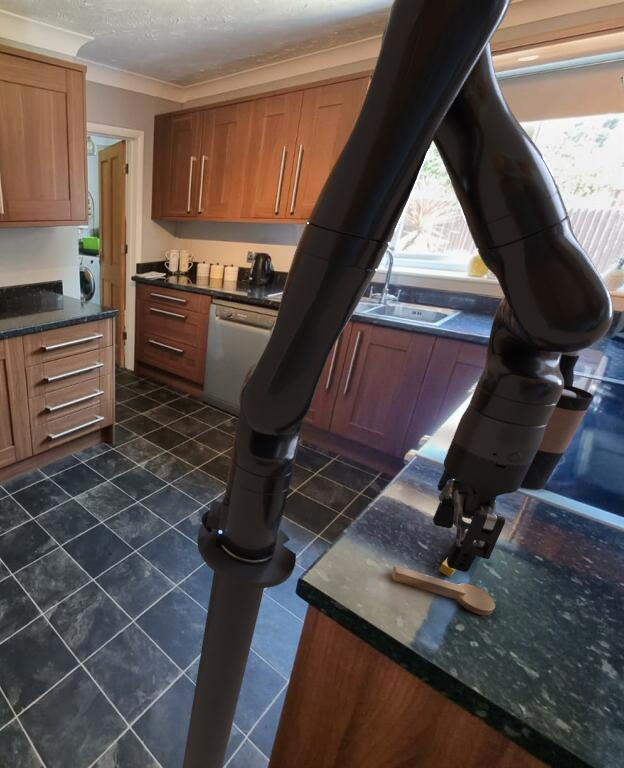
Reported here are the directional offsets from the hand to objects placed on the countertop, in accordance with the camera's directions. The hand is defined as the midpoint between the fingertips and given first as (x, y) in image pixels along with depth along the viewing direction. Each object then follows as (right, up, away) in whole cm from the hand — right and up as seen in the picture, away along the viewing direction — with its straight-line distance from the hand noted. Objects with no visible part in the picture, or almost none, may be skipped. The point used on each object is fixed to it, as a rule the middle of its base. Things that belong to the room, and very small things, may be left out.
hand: (448, 545), depth 58 cm
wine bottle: (+50, +8, +41) cm, 65 cm away
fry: (+7, -6, +8) cm, 12 cm away
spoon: (+1, -8, +3) cm, 8 cm away
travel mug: (+37, +3, +28) cm, 47 cm away
